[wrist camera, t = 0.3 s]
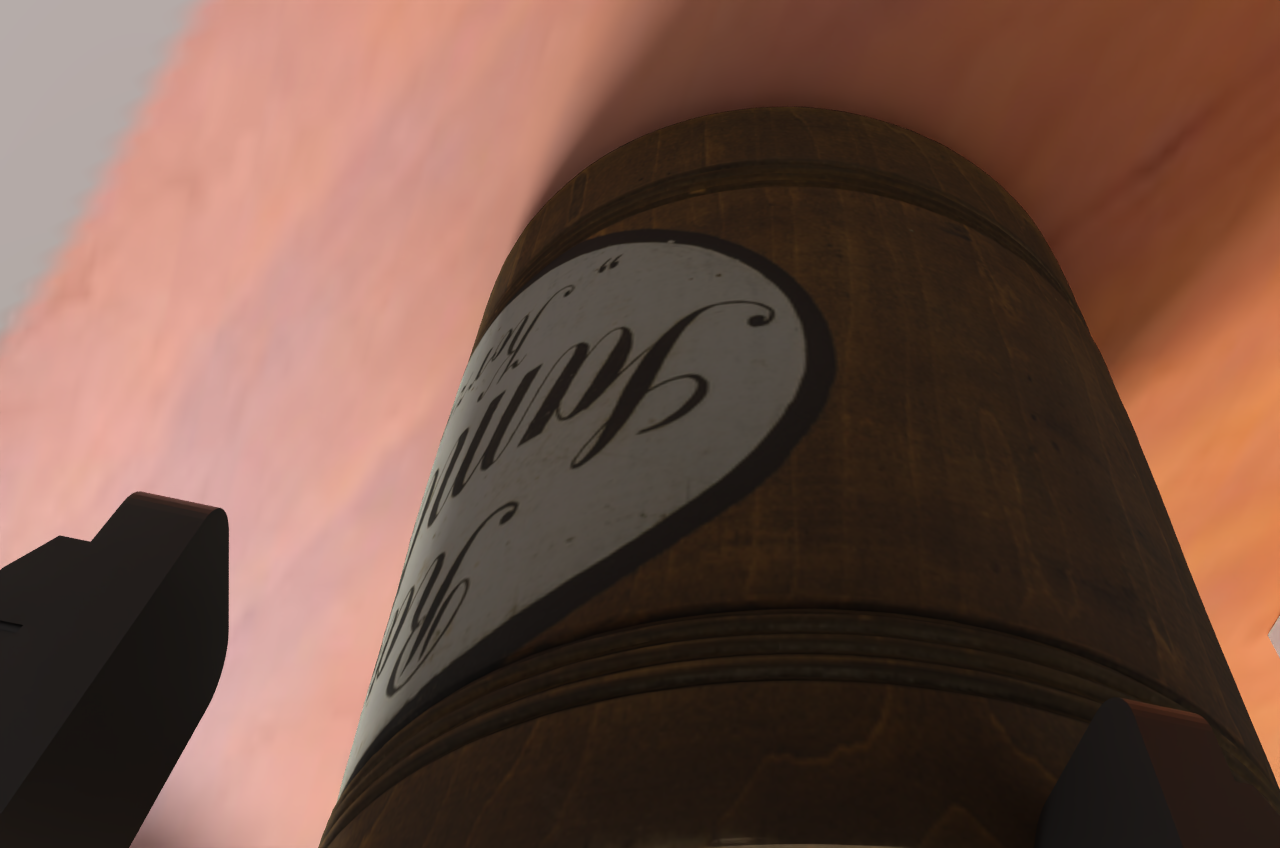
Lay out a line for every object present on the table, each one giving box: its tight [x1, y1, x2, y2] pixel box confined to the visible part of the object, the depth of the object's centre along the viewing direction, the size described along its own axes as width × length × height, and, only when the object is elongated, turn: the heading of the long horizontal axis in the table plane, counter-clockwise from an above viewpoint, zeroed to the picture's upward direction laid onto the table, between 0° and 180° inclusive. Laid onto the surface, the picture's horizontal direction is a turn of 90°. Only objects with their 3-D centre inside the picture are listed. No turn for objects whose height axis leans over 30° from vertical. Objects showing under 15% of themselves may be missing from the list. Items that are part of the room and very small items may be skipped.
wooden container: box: [318, 107, 1280, 848], centre depth 21 cm, size 15×15×22 cm
